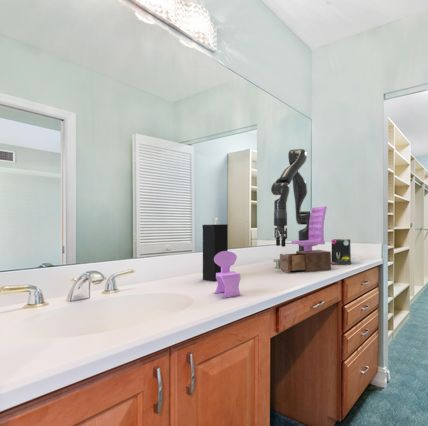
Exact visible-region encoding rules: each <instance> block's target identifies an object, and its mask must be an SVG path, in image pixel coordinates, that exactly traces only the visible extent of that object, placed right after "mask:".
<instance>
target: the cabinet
mask: <svg viewBox="0 0 428 426" xmlns="http://www.w3.org/2000/svg"><path fill="white" fill-rule="evenodd" d="M296 253H300V254H305V265H306V269H305V270H300V271H301V272H304V273H313V272H314V273H315V272H323V271H325V272H326V271H331V270H332V251H329V250H322V249H312V250H308V251H298V250H296V251H295V254H296Z"/></svg>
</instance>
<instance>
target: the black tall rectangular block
mask: <svg viewBox="0 0 428 426" xmlns="http://www.w3.org/2000/svg"><path fill="white" fill-rule="evenodd" d="M218 220H219V218H218V217H213V216H212V221H213V224H202V281H203V280H204V281H211V282H217V279H216V273H221V267H220V266H218V265H217V264H216V263H215V262H214V257H215V255H216V254H218V253H219V252H222V251H229V250H228V247H229V246H228V245H229V244H228V243H229V241H228V236H229V235H228V231H229V229H228V228H229V225H228V224H227V223H226V224H224V223H223V224H222V223H221V224H220V223H219V224H217V223H218Z"/></svg>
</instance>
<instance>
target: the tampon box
mask: <svg viewBox="0 0 428 426" xmlns="http://www.w3.org/2000/svg"><path fill="white" fill-rule="evenodd" d="M330 242H331V265H346V266H347V265H348V266H350V264H351V263H352V255H351V250H352V249H351V239H350V238H348V239H346V238H345V239H343V238H334V239H331V241H330Z"/></svg>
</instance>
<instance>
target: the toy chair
mask: <svg viewBox="0 0 428 426" xmlns="http://www.w3.org/2000/svg"><path fill="white" fill-rule="evenodd" d="M237 259H238V257H237V255H236V253H235V252H233V251H230V250H228V251H222V252H219V253H218V254H216V255H215V257H214V262H215V263H216V264H217V265H218V266H220V267H221V273H216V279H217V281H216V283H217V284H216V285H217V286H216V289H215V291H214V294H220V293H221V294H222V293H223V295H222V297H221V298H222V299H224V298H231V297H237V296H241V292H240V286H239V285H240V281H241V273H239V272H236V271H234V270H231V267H232V266H234V265H235V263H236V261H237Z"/></svg>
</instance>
